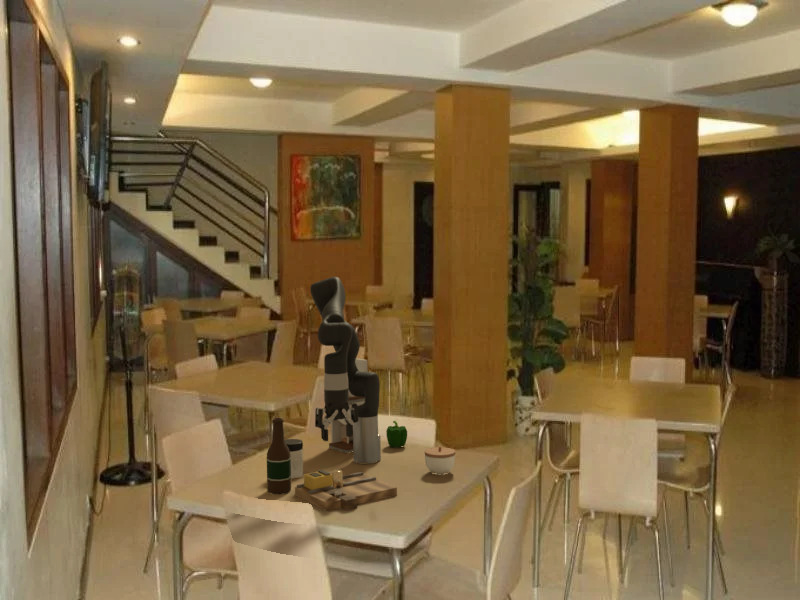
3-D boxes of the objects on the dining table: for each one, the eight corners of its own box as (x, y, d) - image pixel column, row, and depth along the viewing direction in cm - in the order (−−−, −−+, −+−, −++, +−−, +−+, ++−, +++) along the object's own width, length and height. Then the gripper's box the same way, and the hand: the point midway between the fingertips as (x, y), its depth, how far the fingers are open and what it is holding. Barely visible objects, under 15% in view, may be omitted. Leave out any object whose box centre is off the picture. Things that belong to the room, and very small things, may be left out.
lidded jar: (429, 467, 304) (429, 442, 303) (458, 469, 301) (458, 443, 300) (421, 475, 294) (421, 449, 293) (451, 478, 291) (451, 451, 290)
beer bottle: (280, 496, 272) (279, 422, 271) (262, 492, 276) (260, 419, 275) (296, 489, 279) (294, 417, 277) (277, 486, 283) (276, 415, 281)
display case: (329, 448, 334) (327, 360, 331) (350, 443, 341) (348, 357, 338) (347, 453, 325) (346, 362, 323) (368, 448, 332) (367, 360, 330)
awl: (339, 500, 267) (339, 469, 266) (344, 502, 265) (344, 471, 264) (331, 502, 265) (331, 470, 265) (336, 504, 263) (336, 472, 262)
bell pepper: (407, 449, 331) (407, 423, 330) (386, 449, 331) (386, 424, 330) (407, 444, 339) (406, 419, 339) (386, 444, 339) (386, 419, 338)
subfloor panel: (358, 479, 291) (358, 469, 290) (402, 497, 269) (402, 487, 269) (290, 492, 276) (290, 482, 275) (331, 513, 254) (331, 502, 254)
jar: (285, 480, 290) (284, 445, 289) (274, 474, 297) (274, 441, 296) (308, 476, 295) (307, 442, 294) (297, 470, 302) (297, 437, 301)
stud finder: (323, 482, 277) (322, 469, 277) (332, 486, 272) (332, 473, 272) (304, 486, 273) (304, 472, 273) (313, 490, 268) (313, 476, 268)
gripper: (349, 382, 269) (350, 433, 271) (310, 388, 261) (311, 440, 262) (362, 386, 263) (363, 437, 264) (322, 391, 255) (323, 444, 256)
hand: (337, 438), depth 263 cm, fingers open, 8 cm apart
